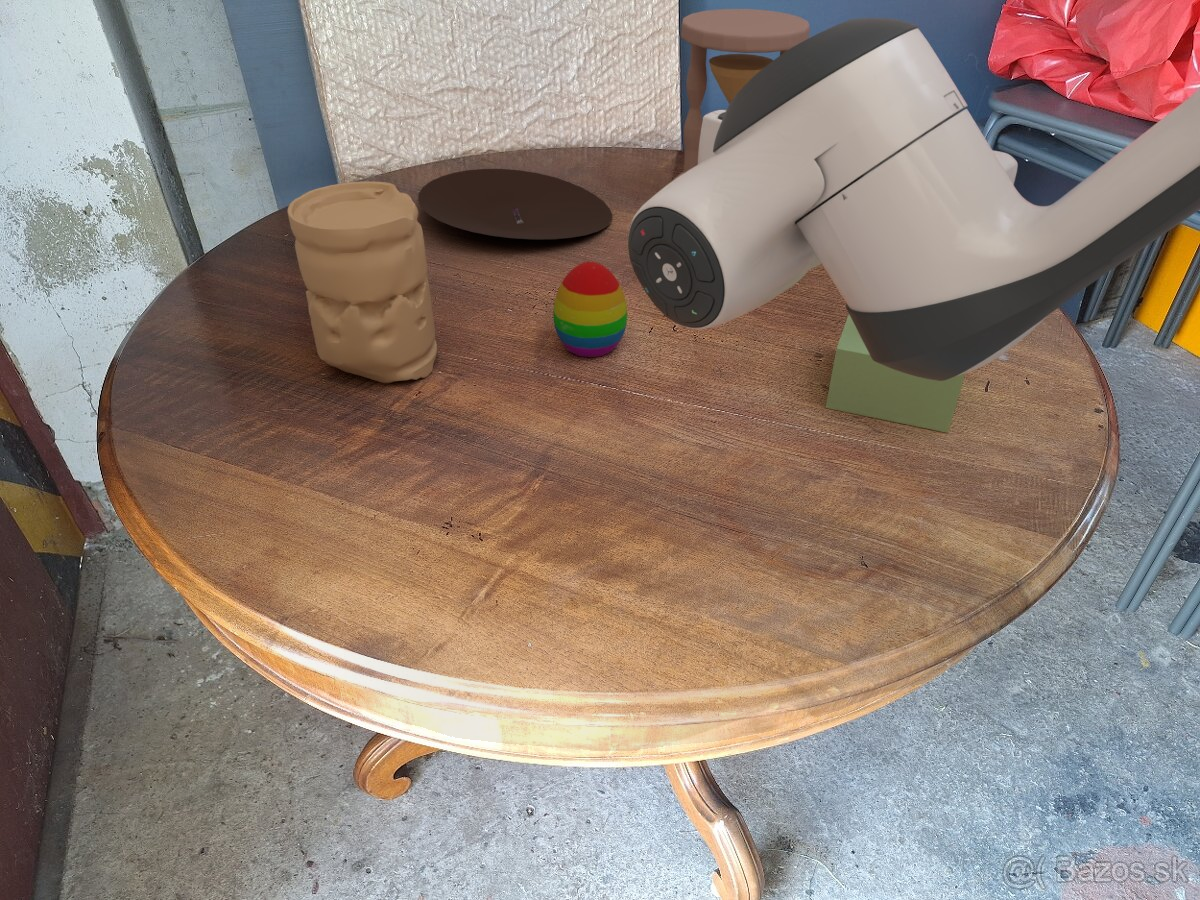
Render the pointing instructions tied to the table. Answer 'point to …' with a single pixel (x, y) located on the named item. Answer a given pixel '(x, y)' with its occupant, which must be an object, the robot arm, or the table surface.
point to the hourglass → (731, 56)
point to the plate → (514, 204)
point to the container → (366, 279)
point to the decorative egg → (590, 310)
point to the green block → (887, 388)
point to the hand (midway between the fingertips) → (899, 134)
